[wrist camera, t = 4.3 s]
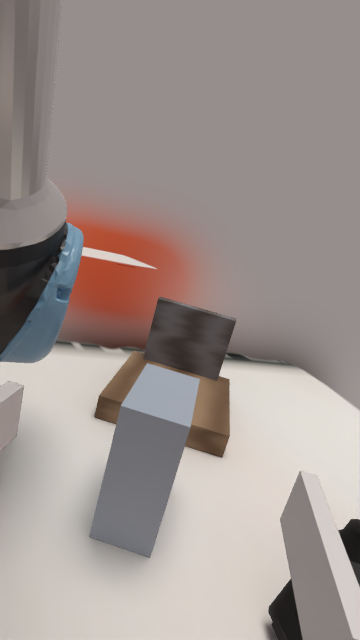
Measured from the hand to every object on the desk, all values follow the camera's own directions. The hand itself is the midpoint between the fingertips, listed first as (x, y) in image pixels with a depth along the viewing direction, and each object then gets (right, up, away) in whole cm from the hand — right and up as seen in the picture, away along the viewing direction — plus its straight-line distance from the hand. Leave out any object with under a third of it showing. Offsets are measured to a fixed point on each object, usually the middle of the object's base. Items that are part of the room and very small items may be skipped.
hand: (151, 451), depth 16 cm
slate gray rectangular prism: (-3, -11, +15) cm, 19 cm away
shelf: (0, -6, +33) cm, 34 cm away
